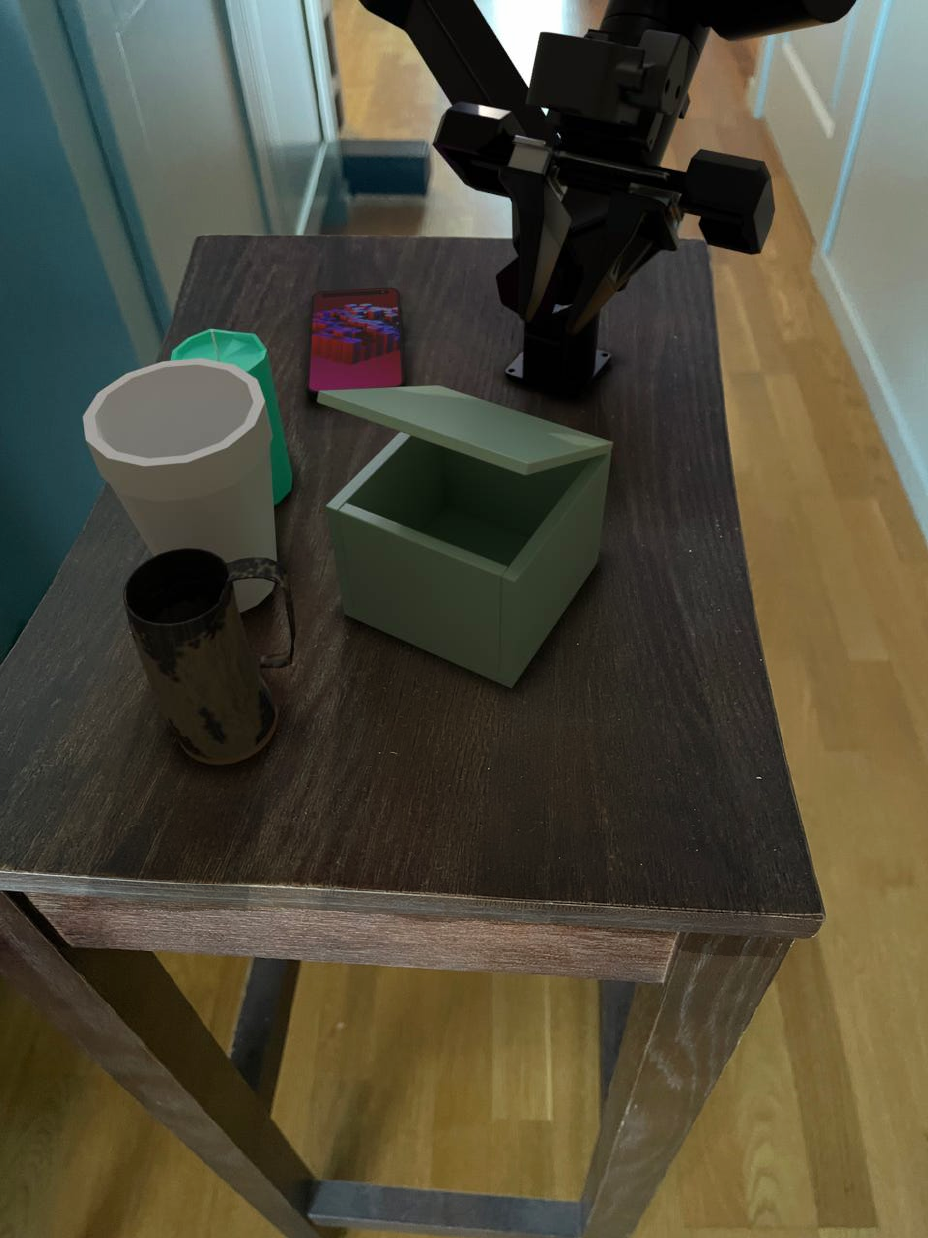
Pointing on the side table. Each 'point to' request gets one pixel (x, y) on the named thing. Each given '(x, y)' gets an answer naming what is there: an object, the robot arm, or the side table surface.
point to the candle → (255, 362)
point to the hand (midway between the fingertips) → (546, 326)
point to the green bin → (466, 551)
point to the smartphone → (355, 340)
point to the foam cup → (190, 461)
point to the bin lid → (470, 426)
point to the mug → (205, 650)
